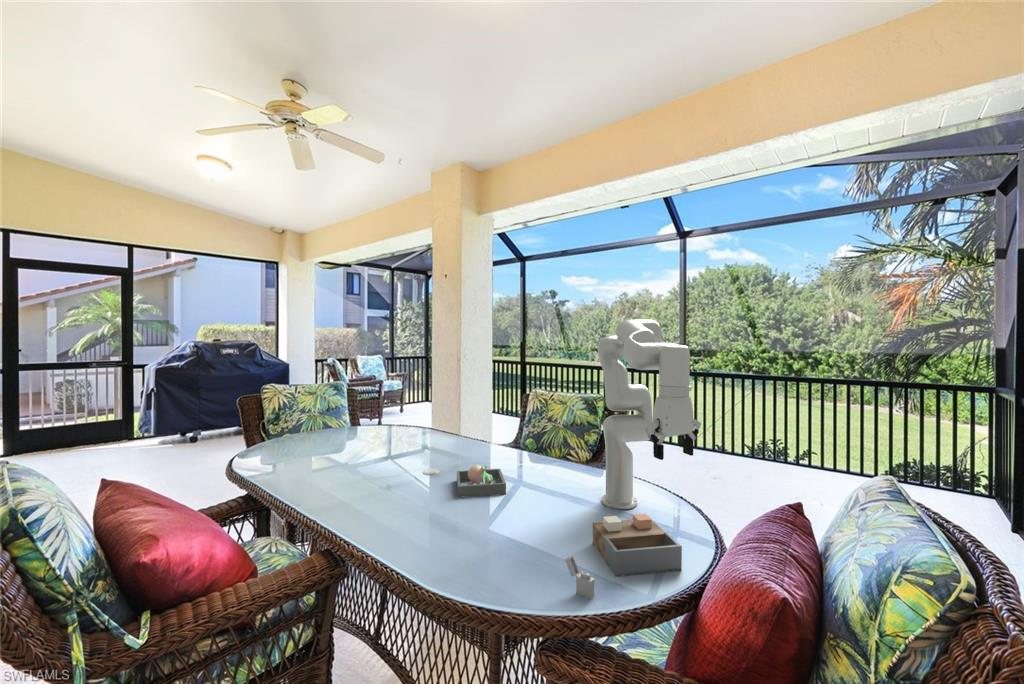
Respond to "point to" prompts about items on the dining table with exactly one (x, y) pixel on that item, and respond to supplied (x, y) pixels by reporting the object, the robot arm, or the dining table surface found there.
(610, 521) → the cream block
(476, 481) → the orange and green lump
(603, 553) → the bench plate
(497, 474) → the dark shallow tray
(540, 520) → the dining table surface
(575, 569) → the lighter
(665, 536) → the box
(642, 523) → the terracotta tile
